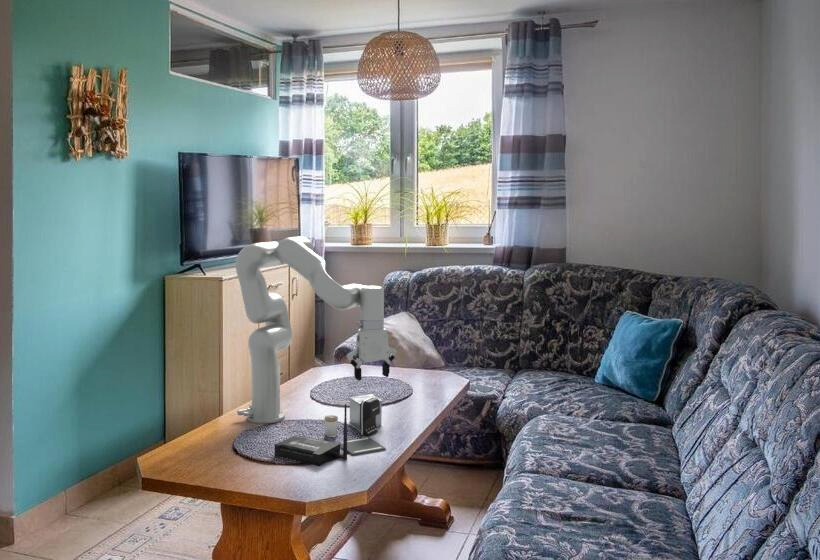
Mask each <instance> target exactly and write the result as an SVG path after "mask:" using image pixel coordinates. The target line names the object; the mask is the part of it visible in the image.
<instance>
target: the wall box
mask: <svg viewBox="0 0 820 560" xmlns="http://www.w3.org/2000/svg"><path fill="white" fill-rule="evenodd" d="M371 397H372V398H376V399H378V400H379V402H380V414H378V415H376V426H377V427H379V426H381V427H382V412H383V411H382V409H383V408H382V407H383V406H382V405H383V403H384V400H383V399H381V398H379V397H378V396H376V395H374V394H372V393H370V394H361V395H353V396H348V400H349V423H350V424H352V425H354V426H355V427H356V428H358V429H359V430H360V405H361V402H362V401H363V400H365V399H367V398H371Z"/></svg>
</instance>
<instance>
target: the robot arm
mask: <svg viewBox="0 0 820 560" xmlns="http://www.w3.org/2000/svg"><path fill="white" fill-rule="evenodd" d="M313 244H314V243H312V241H311V240H310V239H309V238H307V237H305V236H300V235H299V236H290V237H285V238H283V239H280V240H275V241H265V242H255V243H251V244H248V245H246V246H244V247H243V248H241V250H240V251H239V252H238V254H237V256H236V259H235V272H236V275H237V279H238V281H239V286H240V291H241V295H242V300H243V304H244V309H245V310H244V311H245V313H246V317H247V319H248V320H249V322H251V323H252V324H258V325H259V324H263V323H265V326H262V327H259V328H257V329H255V330H253V331H252V332H251V334H250V336H249V338H248V341H247V342H248V344H247V345H248V351H249V354H250V355H249V356H250V365H251V366H250V368H251V370H250V371H251V373H250V374H251V404H249V405H248V407H246V409H245V408H244V409H243V408H241V409H237V411H236V412H237V416H238V417H239V416H243V417H246V418H247V419H246V420H247V421H248V422H250V423H252V424H261V425H263V424H274V423H278V422H281V421H283V420H284V419H285V417H286V414H285V413H284V412H283V411H281V364H280V361H279V358H278V356H277V355H278V352H280V351H282V350H286V349H287V348H289V347H290V345H291V344H292V341H293V332H292V330H293V329H292V326H291V321H290V320H291V319H290V316H289V312H288V307H287V304H286V301H285V300H284V298H283V297H282V296H281V295H280V294H278V293H275V292H269V290H268V286H267V281H266V279H265V277H264V275H263V274H262V272H261V269H264V268H271V267H277V266H284V265H287V266H288V267H290V268H291V269H293V270H294V271H295V272H296V273H298V274H299V275H300V276H301V277H303V278H304V279H305V280H307V281H308V283H309V286H310V287H311V288H312V290H313V292H314V293H315V294H316V296H317V297H319V299H321V300H322V301H323V302H325V303H326V304H328V305H329V306H330V307H332V308H333V309H336V310H338V311H346V310H349V309H354V308H357V307H359V322H356V325H355V326H356V327H359V329H358V331H357V335H356V340H355V349H353V350H351V351H350V352H348V353H347V354H346V358H347V360H348V363H349V364H351V366H352V367H353V372H354V378H355V380H357V381H362V367H361V366H362V365H363V363H372V362H381V361H382V366H381V367H382V368H381V369H382V370H381V373H382V376H384V377H385V378H388V377H390V376H389V375H390V370H391V369H390V366H391V364H392V362H393V360H394V359H395V356H396V354H397V352H398V350H397V349H395V348H394V347H392V346H390V345H389V343H390V342H389V336H388V330H387V328H385V319H384V318H385V290H384V288H383V287H382V286H379V285H363V284H359V283H350V284H344V285H341V284H340V283H338V282H337V281H336V280H334V279H333V278H332V277H331V276H330V275H329V274H328V273H327V271H326V268H327V262H326V260H325V259H324V258H322V257H321V256H320V255H318V254H317V253H316V252H314V251H315V250H314V249H315V247H314V245H313ZM354 356H355V358H356V359H355V360H354V358H353V357H354Z"/></svg>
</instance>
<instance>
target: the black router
mask: <svg viewBox="0 0 820 560" xmlns="http://www.w3.org/2000/svg"><path fill="white" fill-rule="evenodd" d="M347 410H348V409H347V404H346V403H345V404H344V418H343V432H342V433H343V436H342V437H343V439H342V442H343V448H342V450H343V452H342V453H343V454H341V447H340V444H338V443H337V442H333V441H328V440H323V439H319V438H313V437H310V436H305V435H300V434H294V435H293V436H290V437H288V438H287V439H284V440H282V441H280V442H278V443H276V444H274V457H276V456H279V457H278V458H280V457H283V458H282V459H285V458H288V459H287V460H289V459H291V460H290V461H293V460H296V461H295V462H298V461H299V462H298V463H303V464H307V465H310V466H311V465H312V466H316V467H321V466H323V465H325V464H327V463H329V462H330V461H333V460H334V459H340V460H343V461H345V462H347V461H348V452H347V441H348V423H347V422H348V421H347Z"/></svg>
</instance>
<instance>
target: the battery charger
mask: <svg viewBox="0 0 820 560" xmlns="http://www.w3.org/2000/svg"><path fill="white" fill-rule="evenodd" d="M378 414H380V402H379V400H378V399H376V398H372V397H371V398H367V399H365V400H363V401H362V402H361V405H360V429H359V431H360V432H359V435H361V436H365V437H370V436H372V435H374V434H376V433H377V432H379V430H378V426H376V415H378Z"/></svg>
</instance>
